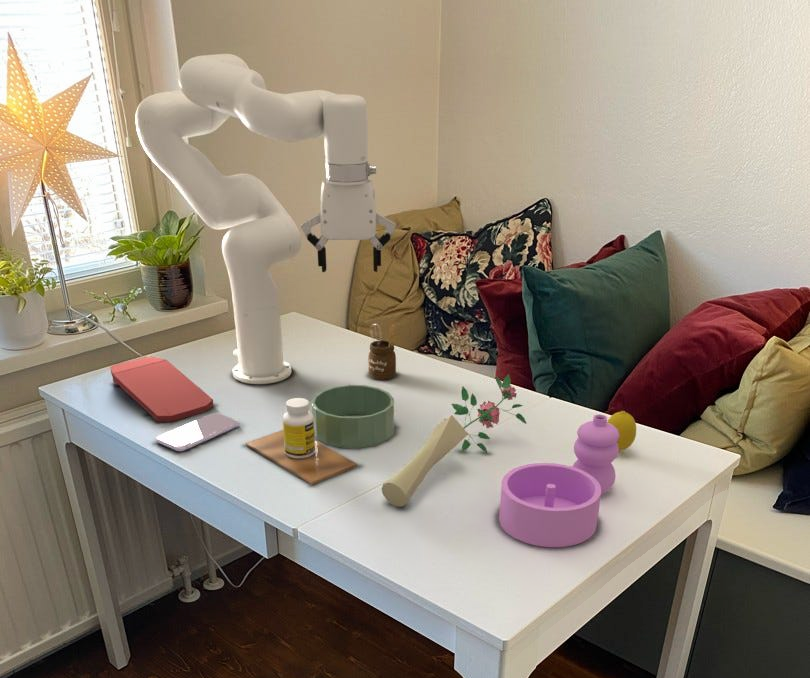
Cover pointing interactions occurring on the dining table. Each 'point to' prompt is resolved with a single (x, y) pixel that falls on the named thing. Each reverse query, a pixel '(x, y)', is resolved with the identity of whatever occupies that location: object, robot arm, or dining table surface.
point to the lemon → (624, 428)
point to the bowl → (353, 429)
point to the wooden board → (307, 469)
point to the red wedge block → (160, 388)
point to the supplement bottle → (298, 429)
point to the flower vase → (445, 444)
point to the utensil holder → (382, 357)
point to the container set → (561, 491)
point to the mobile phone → (197, 432)
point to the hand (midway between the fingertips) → (349, 270)
